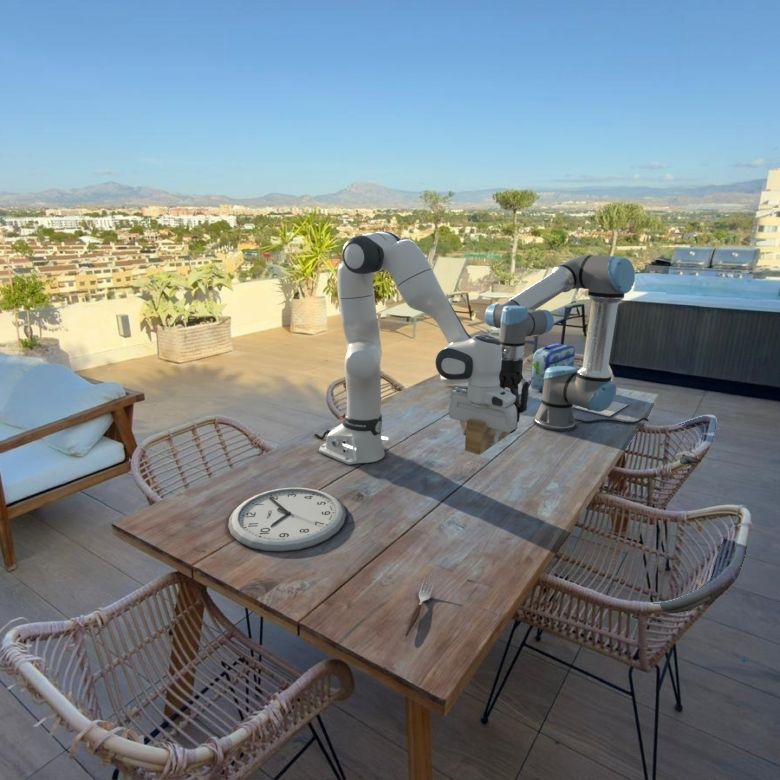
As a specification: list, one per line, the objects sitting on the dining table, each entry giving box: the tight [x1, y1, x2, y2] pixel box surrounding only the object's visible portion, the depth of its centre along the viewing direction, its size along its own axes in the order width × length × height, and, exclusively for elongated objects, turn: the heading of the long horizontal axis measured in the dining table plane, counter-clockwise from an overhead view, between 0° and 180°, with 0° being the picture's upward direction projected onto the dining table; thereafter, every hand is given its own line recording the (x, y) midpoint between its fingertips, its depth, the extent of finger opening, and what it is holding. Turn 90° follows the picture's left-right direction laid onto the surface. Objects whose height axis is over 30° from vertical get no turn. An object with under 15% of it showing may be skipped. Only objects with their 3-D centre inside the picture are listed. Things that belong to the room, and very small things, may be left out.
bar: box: [464, 419, 519, 456], centre depth 157 cm, size 26×5×9 cm, turn 143°
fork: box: [405, 577, 435, 637], centre depth 104 cm, size 3×16×2 cm, turn 160°
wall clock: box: [227, 487, 347, 552], centre depth 136 cm, size 30×2×30 cm
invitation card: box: [573, 400, 629, 418], centre depth 226 cm, size 21×1×15 cm
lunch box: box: [530, 343, 576, 391], centre depth 249 cm, size 26×11×21 cm, turn 134°
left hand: (480, 438), depth 151 cm, fingers open, 8 cm apart
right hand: (504, 429), depth 165 cm, fingers closed on bar, 5 cm apart
